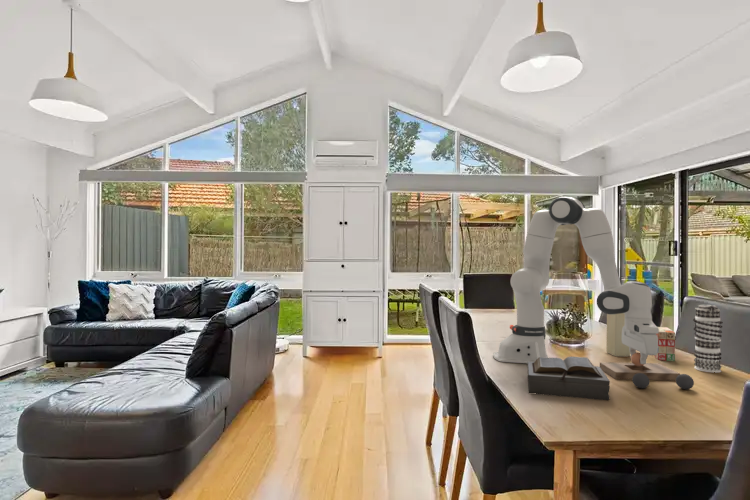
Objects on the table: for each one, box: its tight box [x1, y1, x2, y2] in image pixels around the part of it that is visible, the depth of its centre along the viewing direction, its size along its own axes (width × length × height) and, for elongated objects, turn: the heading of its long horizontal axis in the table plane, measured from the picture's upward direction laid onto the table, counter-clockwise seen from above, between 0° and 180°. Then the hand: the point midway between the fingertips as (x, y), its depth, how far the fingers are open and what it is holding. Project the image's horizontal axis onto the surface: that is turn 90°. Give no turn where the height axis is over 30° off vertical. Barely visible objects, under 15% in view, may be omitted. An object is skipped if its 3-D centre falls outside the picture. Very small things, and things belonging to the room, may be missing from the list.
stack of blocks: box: [653, 326, 676, 362], centre depth 198 cm, size 21×6×12 cm, turn 160°
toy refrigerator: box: [606, 313, 631, 357], centre depth 199 cm, size 8×7×21 cm
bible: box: [526, 356, 611, 401], centre depth 152 cm, size 23×27×10 cm
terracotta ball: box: [630, 351, 644, 366], centre depth 168 cm, size 5×5×5 cm
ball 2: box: [675, 373, 695, 390], centre depth 150 cm, size 5×5×5 cm
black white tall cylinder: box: [692, 304, 723, 374], centre depth 174 cm, size 9×9×25 cm
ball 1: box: [631, 373, 651, 389], centre depth 152 cm, size 5×5×5 cm
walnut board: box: [599, 361, 681, 381], centre depth 168 cm, size 22×14×2 cm, turn 85°
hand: (638, 361), depth 168 cm, fingers closed on terracotta ball, 5 cm apart
